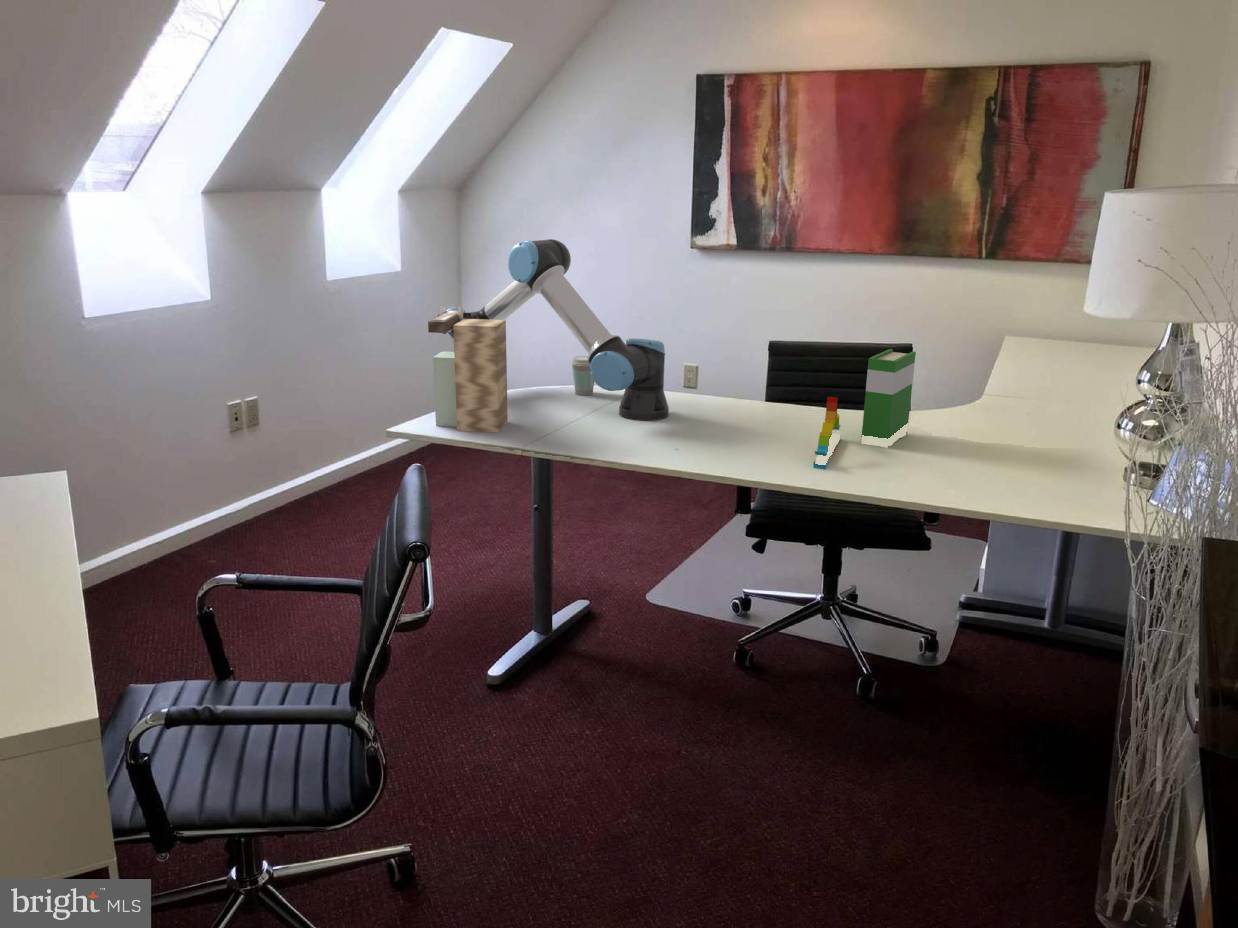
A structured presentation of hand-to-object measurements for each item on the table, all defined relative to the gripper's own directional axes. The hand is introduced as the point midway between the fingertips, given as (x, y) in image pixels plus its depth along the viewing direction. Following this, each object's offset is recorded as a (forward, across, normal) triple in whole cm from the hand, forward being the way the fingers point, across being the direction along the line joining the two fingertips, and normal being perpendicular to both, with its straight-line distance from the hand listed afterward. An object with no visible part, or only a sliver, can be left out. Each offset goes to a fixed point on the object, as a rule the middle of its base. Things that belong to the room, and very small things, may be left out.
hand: (450, 310), depth 276 cm
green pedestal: (-13, 0, -30) cm, 33 cm away
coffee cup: (-50, -33, -8) cm, 61 cm away
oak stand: (-10, -10, -31) cm, 34 cm away
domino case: (+1, 0, -5) cm, 5 cm away
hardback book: (-14, -125, -29) cm, 129 cm away
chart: (0, -108, -37) cm, 114 cm away
